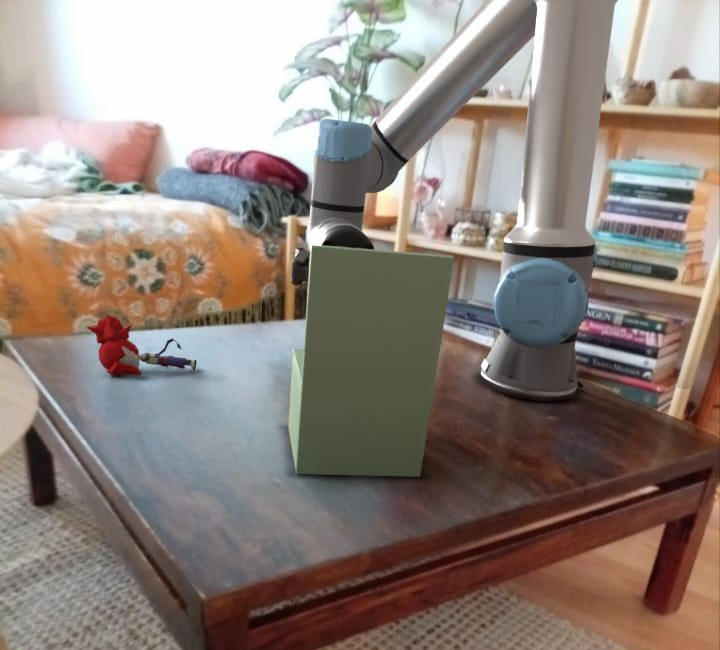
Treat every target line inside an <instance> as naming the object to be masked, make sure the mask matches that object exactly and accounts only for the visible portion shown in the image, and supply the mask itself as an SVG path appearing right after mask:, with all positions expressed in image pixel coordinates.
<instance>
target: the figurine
mask: <svg viewBox="0 0 720 650" xmlns="http://www.w3.org/2000/svg"><path fill="white" fill-rule="evenodd" d="M132 326H133V325H132V324H129V325H127V326H126V327H124V326H123V324H122V322H121V321H120V320H119V319H118V317H117V316H114V315H110V314H107V315H106V316H105V318H101V319H100V320H98V321H97V325H90V326H86V328H87V329H88V330H89V331H91V332H93V333H94V334H95V336H96V342H97V344H100V346H99V348H98V360H99V363H100V364H101V366H102V367H103V368H104V369H106V373H107V374H108V375H110V376H129V375H131V376H133V375H134V376H142V374H143V373H142V371H141V370H140V369H139V368H140V361H141V362H142V363H146V364H147V365H154V366H160V367H163V368H164V367H166V368H168V367H173V368H176V369H177V368H178V369H182V370H185V369H186V366H188V367H189V366H190V367H191V369H192V370H193V371H195V370H196V368H197V359H188V358H186V357H178V356H174V355H162V354H163V353H165V352H166V350H167V349H168V347H169V345H170V344H171V343H173V342H175V343H176V347H177V348H178V349H180V350H182V346H181V345H180V343H179V342H177V341H176V340H175V339H174V338H170V339H167V341H166V343H165V345H164V348H163V349H162V350H161V351H160V352H158V353H152V352H144V353H141V354H140V352H139V351H140V350H139V349H138V347H137V346H136V344H135V343H133V342H132V341H130V340H129V338H130V330H131V328H132Z"/></svg>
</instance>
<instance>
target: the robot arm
mask: <svg viewBox="0 0 720 650" xmlns="http://www.w3.org/2000/svg"><path fill="white" fill-rule="evenodd" d="M618 1H619V0H486V1H484V2H483V4H482V5H481V6H480V7H479V8H478V9H477V10H476V11H475V13H473V15H472V16H471V17H470V18H469V19H468V20H467V21H466V22H465V23H464V24H463V26H461V28H459V30H458V31H457V32H456V33H455V34H454V35H453V36H452V37H451V38H450V39H449V41H448V42H447V43H446V44H445V45H444V46H443V47H441V49H440V50H439V51H438V52H437V53H436V55H434V57H432V58H431V59H430V60H429V62H428V63H427V64H426V65H425V66H424V67H423V69H421V71H420V72H419V73H418V74H417V75H416V76H415V77H414V78H413V79H412V80H411V81H410V82H409V83H408V84H407V85H406V87H404V89H403V90H401V92H400V93H399V94H398V95H397V96H396V97H395V98H394V99H393V101H391V103H390V104H389V105H388V106H387V107H386V108H385V109H384V110H383V111H382V112H381V114H379V115H378V117H377V118H376V119H375V121H374V122H373V123H371V125H369V124H367V123H364V122H356V121H349V120H339V119H331V118H324V119H321V120H320V121H319V122H318V123H317V126H316V133H315V142H314V145H313V170H312V185H311V199H310V209H309V222H308V226H307V228H306V231H305V247H306V248H307V249H306V248H304V247H302V246H300V247H296V248H295V253H294V254H295V255H294V257H293V259H292V261H291V263H292V264H291V279H290V281H291V282H290V284H292V285H294V286H301V285H303V283H304V282H305V283H308V279H309V265H310V250H311V245H323V246H336V247H348V248H360V249H372V250H376V249H375V247H374V244H373V243H372V241H371V239H370V238H369V237H368V235H366V234H365V232H364V231H363V222H364V214H365V213H364V212H365V203H366V195H367V194H377V193H380V192H383V191H384V190H386V189H387V188H389V187H390V186H391V185H393V184H394V182H395V181H396V180H397V178H398V175H399V172H400V171H401V170H402V169H403V168H404V167H405V166H406V165H407V163H408V162H409V161H410V160H411V159H412V158H413V157H414V156H415V155H416V154H417V153H419V151H420V150H421V149H422V148H423V147H424V146H425V145H426V144H428V142H429V141H430V140H432V138H433V137H434V136H435V135H436V134H437V133H438V132H439V131H440V130H441V129H443V128H444V126H445V125H446V124H448V122H449V121H451V120H452V118H453V117H455V115H456V114H457V113H458V112H459V111H460V110H462V108H463V107H465V105H466V104H468V103H469V101H471V100H472V99H473V98H474V96H475V95H476V94H477V93H478V92H479V91H481V89H482V88H484V86H486V85H487V83H489V82H490V80H492V79H493V78H494V77H495V75H497V74H498V73H499V72H500V71H501V70H502V69H503V68H504V67H505V66H506V65H507V64H508V63H509V62H510V61H511V60H512V59H513V58H514V57H515V56H516V55H517V54H518V53H519V52H520V51H521V50H522V49H523V48H524V47H525V46H526V45H527V44H528V43H530V41H531V40H532V39H533V38H534V41H533V42H534V44H533V53H532V54H533V55H532V63H531V74H530V85H529V95H528V105H527V117H526V126H525V136H524V137H525V138H524V148H523V156H522V169H521V179H520V187H519V200H518V209H517V220H516V224H515V227H514V228H513V229H511V230H510V231H509V232H508V233H507V234H506V235H505V236H503V237H504V238H503V245H502V255H501V264H500V265H501V267H500V277H499V282H498V284H497V285H496V288H495V289H496V290H495V291H494V294H493V311H494V317H495V319H496V322H497V324H498V326H499V328H500V332H499V335H498V337H497V338H496V340H495V342H494V344H493V345H492V348H491V350H490V351H489V353H488V355H487V357H486V358H484V359H483V361H482V363H481V364H480V367H481V371H480V377H479V378H480V381H481V382H482V383H483V384H484V385H485V386H486V387H488V388H490V389H492V390H494V391H496V392H499V393H501V394H504V395H507V396H509V397H510V396H511V397H515V398H518V399H523V400H530V401H538V402H562V401H567V400H570V399H572V398H574V396H575V395H576V393H577V390H578V389H577V388H579V389H580V390H581V389H583V388H584V387H585V386H584V385H585V384H583V383H582V382H581V381H580V380H578V368H577V355H576V342H577V337H578V333H579V330H580V327H581V326H582V323H583V322H584V321H585V320H586V319H585V318H586V317H587V314H588V309H589V292H590V286H591V281H592V276H593V273H594V270H595V268H596V266H597V255H598V248H597V246H596V239H595V238H594V237H593V236H592V234H591V233H590V231H588V230H587V227H586V224H587V216H588V209H589V201H590V194H591V186H592V181H593V179H592V178H593V172H594V163H595V156H596V149H597V142H598V133H599V127H600V118H601V111H602V105H603V104H602V103H603V99H604V98H603V97H604V96H603V95H604V89H605V83H606V74H607V69H608V68H607V67H608V60H609V52H610V46H611V45H610V44H611V37H612V29H613V23H614V14H615V8H616V4H617V3H618ZM306 293H307V294H308V286H307V288H306Z"/></svg>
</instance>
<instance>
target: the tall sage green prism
mask: <svg viewBox="0 0 720 650" xmlns="http://www.w3.org/2000/svg"><path fill="white" fill-rule="evenodd" d="M454 262H455V258H454V256H452V255H443V254H432V253H421V252H420V253H419V252H408V251H395V250H383V249H375V250H372V249H360V248H348V247H336V246H323V245H311V250H310V265H309V279H308V282H307V287H308V293H307V295H306V310H305V324H304V339H303V349H302V348H293V349H292V363H291V375H290V376H291V377H290V392H289V393H290V395H289V410H288V426H287V428H288V433H289V434H288V435H289V440H290V446H291V451H292V457H293V464H294V469H295V474H296V475H318V476H321V475H323V476H361V477H362V476H366V477H367V476H368V477H406V478H407V477H409V478H410V477H413V478H414V477H415V478H420V477H421V473H422V467H423V462H424V461H423V460H424V454H425V448H426V441H427V435H428V429H429V422H430V416H431V411H432V410H431V409H432V402H433V397H434V390H435V383H436V376H437V371H438V364H439V359H440V352H441V346H442V345H441V344H442V340H443V339H442V338H443V332H444V326H445V320H446V313H447V307H448V301H449V295H450V287H451V282H452V275H453V268H454Z"/></svg>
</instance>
